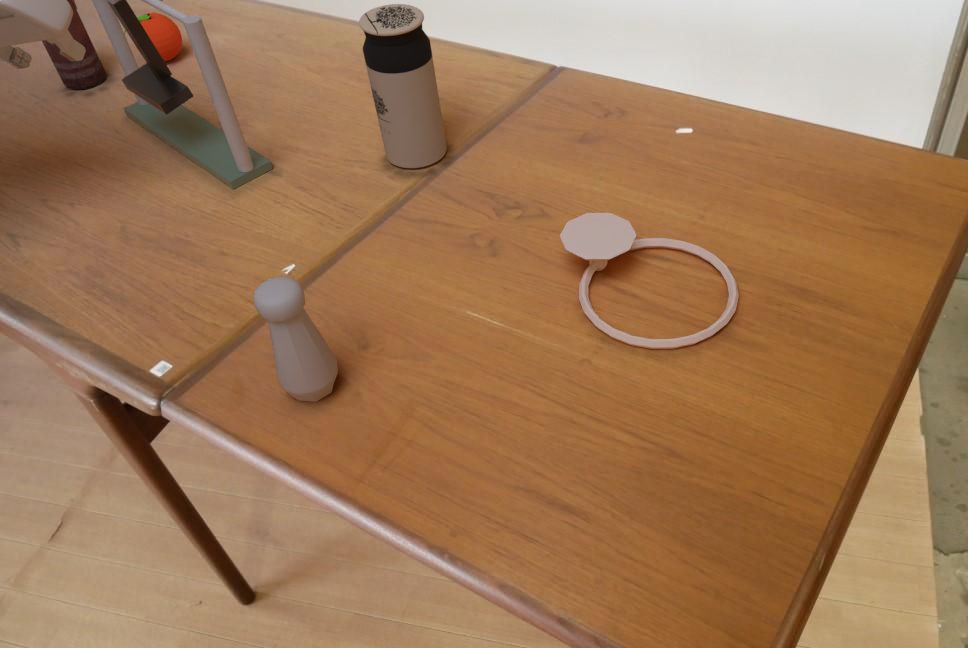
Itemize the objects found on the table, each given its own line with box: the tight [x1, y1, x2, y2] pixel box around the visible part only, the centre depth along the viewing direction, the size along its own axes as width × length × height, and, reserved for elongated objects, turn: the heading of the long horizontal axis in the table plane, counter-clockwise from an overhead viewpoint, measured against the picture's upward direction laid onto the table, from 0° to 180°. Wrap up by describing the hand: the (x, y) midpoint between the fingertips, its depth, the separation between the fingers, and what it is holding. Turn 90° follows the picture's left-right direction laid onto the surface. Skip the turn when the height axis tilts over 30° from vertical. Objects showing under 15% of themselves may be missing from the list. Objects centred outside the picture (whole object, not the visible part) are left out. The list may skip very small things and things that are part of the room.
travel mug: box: [358, 3, 448, 169], centre depth 104 cm, size 8×8×18 cm
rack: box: [91, 0, 274, 190], centre depth 107 cm, size 6×28×20 cm, turn 47°
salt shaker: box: [253, 276, 339, 403], centre depth 78 cm, size 6×6×13 cm
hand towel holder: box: [559, 212, 740, 350], centre depth 89 cm, size 17×4×21 cm
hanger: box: [107, 0, 194, 115], centre depth 103 cm, size 9×10×13 cm
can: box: [41, 0, 106, 91], centre depth 122 cm, size 6×6×14 cm
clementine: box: [123, 12, 183, 62], centre depth 128 cm, size 8×7×7 cm
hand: (52, 59), depth 97 cm, fingers open, 8 cm apart
